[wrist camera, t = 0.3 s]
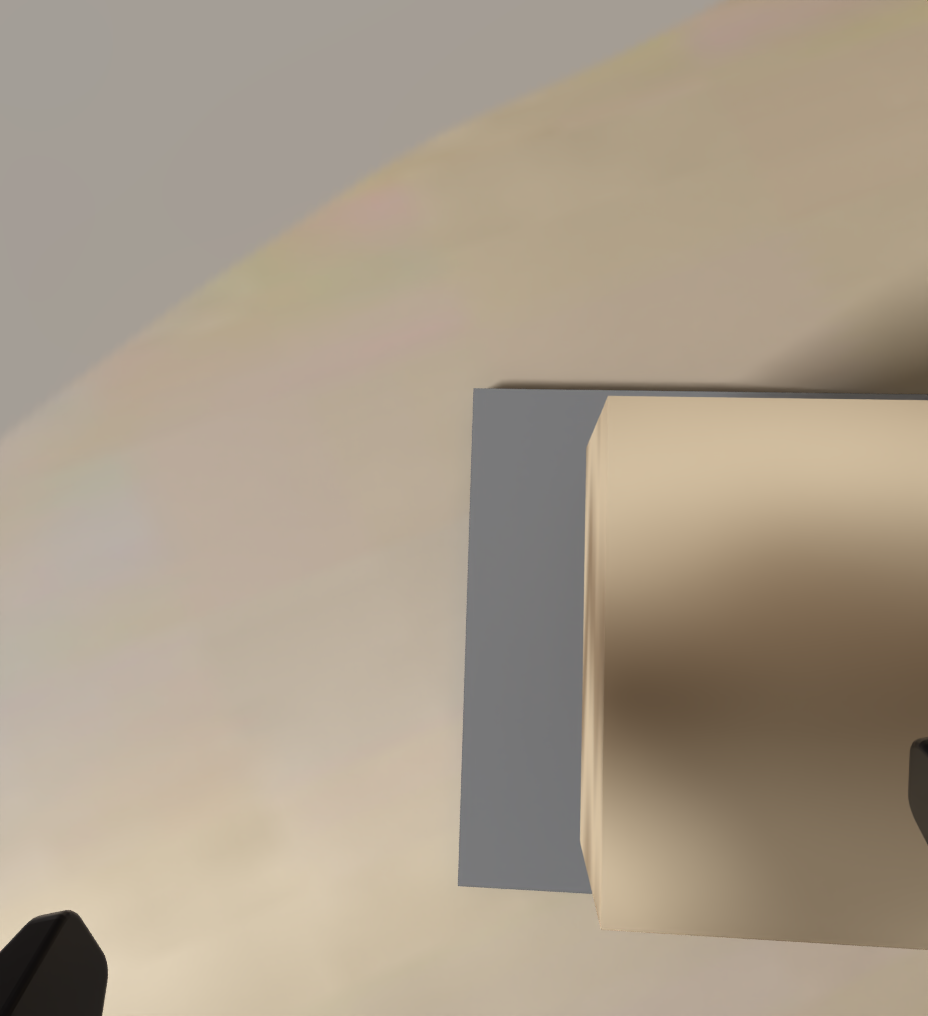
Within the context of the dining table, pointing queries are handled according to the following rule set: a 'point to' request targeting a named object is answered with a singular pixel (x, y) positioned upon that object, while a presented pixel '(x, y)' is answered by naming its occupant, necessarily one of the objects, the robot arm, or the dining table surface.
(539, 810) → the label board
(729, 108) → the dining table surface
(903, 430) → the beige wooden block
